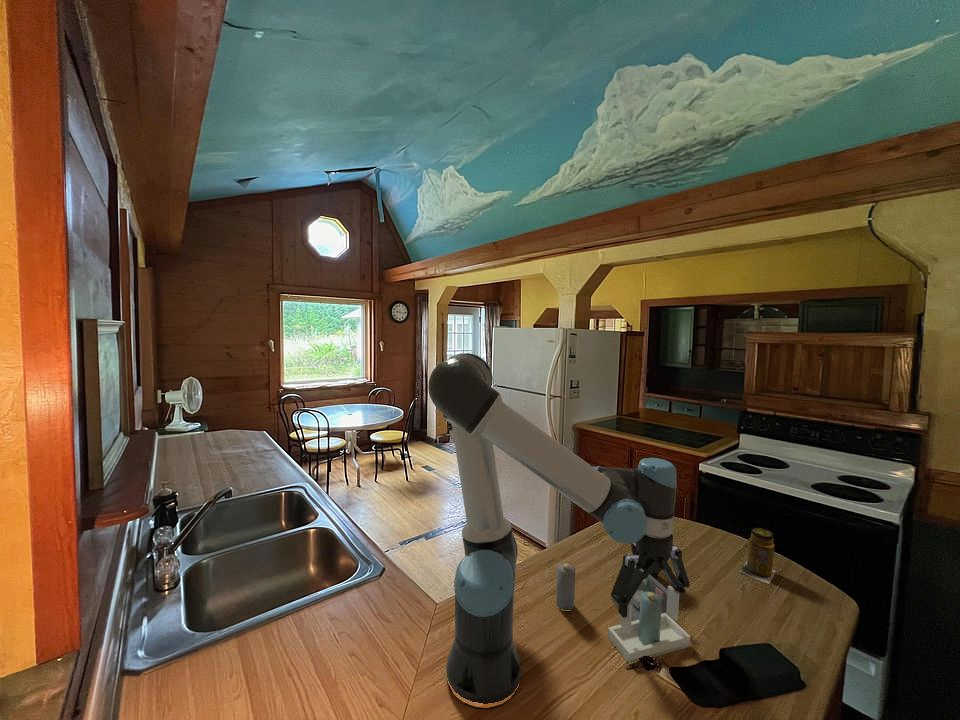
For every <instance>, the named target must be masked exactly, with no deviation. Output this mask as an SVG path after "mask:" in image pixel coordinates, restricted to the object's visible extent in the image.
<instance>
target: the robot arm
mask: <svg viewBox="0 0 960 720" xmlns="http://www.w3.org/2000/svg"><path fill="white" fill-rule="evenodd" d="M493 379H494V378H493V372H492V369H491V368H490V365H489V363H487V361H486V360H485V359H484V358H482V357H481V356H479V355H477V354H474V353H469V352H467V353H466V352H465V353H462V352H461V353H458V354H454V355H452V356H450V357H449V358H447V359H445V360H443V361H440V363H438V364H437V365H436V366H435V368H433V370H432V372H431V374H430V376H429V380H428V388H427V389H428V395H429V397H430V400H431V402H432V403H433V404H434V406H435V408H436V409H438V411H439V412H440V413H441V414H443V415H442V416H443V419H444V420H445V421H446V422H449V423H450V424H451V429H452V435H453V442H454V449H455V453H456V460H457V468H458V473H459V475H458V476H459V481H460V487H461V493H462V499H463V500H462V501H463V506H464V513H465V519H466V524H465V525H463V527H462V530H461V538H462V544H463V548H464V549H463V550H464V557H463V558H461V560H460V562H459V563H458V564H457V567H456V569H455V576H454V580H453V581H454V583H453V584H454V585H453V588H454V640H453V643H452V646H451V647H450V651H449V654H448V656H447V661H446V667H445V669H446V672H447V678H448V681H449V683H450V685H451V686H452V688H453V689H454V691H455V692H456V693H458V694H459V695H460V696H461V697H463V698H465V699H467V700H470V701H472V702H478V703H483V704H488V703H495V702H499V701H502V700H504V699H505V698H507V697H508V696H510V695H511V694H512V693H513V692H514V691H515V689H516V688H517V686H518V684H519V681H520V682H521V680H520V677H521V675H522V672H521V671H522V669H521V668H522V667H521V659H520V656H519V654H518V653H519V652H518V649H516V645H515V641H514V639H513V638H514V637H513V635H514V633H513V632H514V601H515V598H514V597H515V596H514V595H515V585H516V584H515V582H516V573H517V572H516V569H517V561H518V552H519V551H518V544H517V540H516V537H515V535H514V533H513V528H512V524H511V521H510V520H509V519H508V518H507V517H505V516H504V511H503V505H502V498H501V497H502V496H501V489H500V484H499V476H498V470H497V465H496V464H497V463H496V456H495V451H494V446H495V447H497V448H498V449H499V450H501V451H502V452H504V453H505V455H508V456H509V457H510V458H512V459H513V460H514V461H517V463H519V464H520V465H522V467H524V468H526V469H527V470H528V471H529V472H532V474H534V475H535V476H536V477H539V479H541V480H542V481H544V482H545V483H546V484H548V485H549V486H551V487H552V488H554V489H555V490H556V491H558V492H559V493H560V494H561V495H563V496H565V497H566V498H567V499H568V500H570V501H572V502H573V503H574V504H575V505H576V506H578V507H579V508H580V509H582V510H584V511H585V512H587V513H588V514H589V515H591V517H594V518H595V519H596V520H597V521H599V522H600V523H601V524H602V526H603V528H604V530H605V531H606V532H607V534H608V536H609V537H610V538H611V539H613V540H614V541H615V542H617V543H621V544H626V545H627V544H628V545H629V544H630V545H631V543H634V542H635V543H636V547H637V551H636V554H635V555H634V556H632V555H629V554H628V553H624V554H623V557H622V565H621V567H620V569H619V572H618V575H617V578H616V580H615V582H614V584H613V587H612V590H611V592H610V596H611V599H612V598H613V599H614V600H615V601H616V602H617V603H618V604H619V608H618V607H617V608H618V609H617V610H618V614H619V615H620V619H619V625H621V626H622V627H623V628H624V629H625V631H626V632H627V633H631V621H632V604H631V603H630V601H631V599H632V597H633V596H634V594H635V593H636V591H638V588H639V586H640V585H641V583H642V581H643V580H644V579H646V578H647V577H648V576H649V574H653V573H655V572H659V573H661V572H662V573H663V575H664V576H665V578H666V579H667V580H668V581H669V583H670V585H668V586H667V590H668V593H667V610H666V613H667V614H668V615H669V616H670V618H672V619H673V620H674V621H675V622H676V621H678V620H679V607H680V603H681V601H682V595H685V594H686V590H687V589H686V588H689V587H690V586H691V585H690V581H689V577H688V574H687V571H686V568H685V565H684V562H683V561H684V560H683V550H681V549H680V548H679V547H677V546H676V545H674V543H673V542H674V534H673V533H674V525H675V507H676V506H675V505H676V495H677V494H676V493H677V488H678V485H677V482H678V481H677V480H678V479H677V468H676V467H675V465H674V464H673V463H672V462H670V461H669V460H667V459H662V458H657V457H648V458H647V457H645V458H642V459H641V460H640V461H639V462H638V466H637V468H636V467H635V468H628V467H627V468H626V467H609V466H601V465H598V466H592V465H591V464H589V463H588V462H587V461H585V460H584V459H582V458H581V457H580V456H578V455H577V454H575V453H574V452H573V451H571V450H570V449H568V448H567V447H565V445H563V444H561V443H560V442H558V440H556V439H555V438H553V437H552V436H550V435H549V434H548V433H547V432H545V431H544V430H542V429H541V428H540V427H538V426H536V425H535V424H534V423H532V422H531V421H530V420H528V419H527V418H526V417H525V416H523V415H522V414H520V413H518V412H517V411H516V410H514V409H513V408H511V407H510V406H509V405H507V404H506V403H504V402H503V398H502V394H501V393H500V392H498V391H497V390H495V388H493V387H492V385H493V381H494V380H493ZM669 560H670V561H671V564H672V566H673V570H672V568H671V566H670V565H669V564H668V562H669ZM640 567H641V568H642V569H643V570H644V572H642V571H641V570H640V569H639V568H640ZM673 571H674V572H673ZM671 585H672V586H671ZM625 596H626V597H625ZM447 678H446V679H447ZM521 678H522V677H521Z"/></svg>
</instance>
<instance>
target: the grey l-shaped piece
mask: <svg viewBox="0 0 960 720" xmlns="http://www.w3.org/2000/svg"><path fill="white" fill-rule="evenodd" d="M640 570H641V571H642V572H644V570H643V569H640ZM640 590H643V591H644V592H653V593H655V594H657V595H659V596H660V597H661V599H662V610H661V614H663V613H666V610H667V593H668V588H666V586H664V585H663V584H662V583H660V582H659V581H658V579H657V580H656V579H655V578H653V577H652V576H651V575H650V574H649V576H648V577H647V578H646V579H644V580H643V581H642V583H641V585H640V586H639V588H638V589H637V591H640ZM625 597H626V596H625ZM611 601H612V602H613V604H615V606H616V607H617V606H618V607H617V608H619V604H618V603H617V602H616V601H615V600H614V599H613V598H612V597H611ZM630 603H631V604H632V621H636V620H639V616H640V609H638V608H637V607H636V606H635V605H634V604H633V603H632V602H631V601H630ZM666 614H667V613H666ZM667 615H668V614H667ZM668 616H669V615H668ZM669 617H670V618H671V616H669ZM632 621H631V622H632Z"/></svg>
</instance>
